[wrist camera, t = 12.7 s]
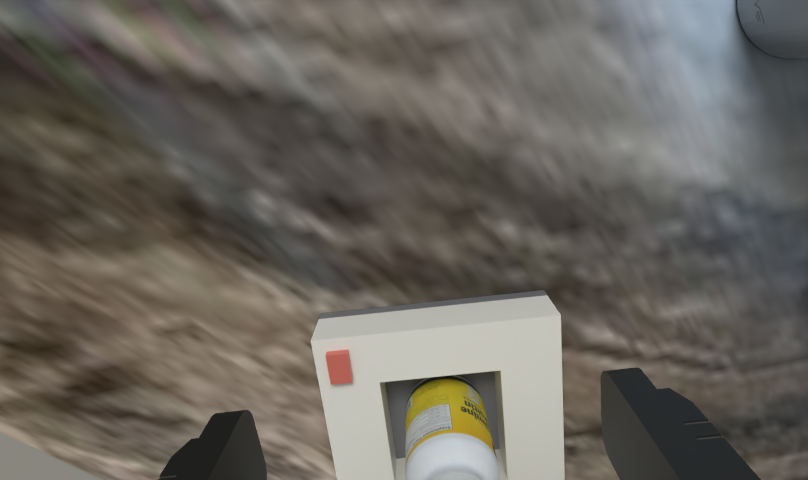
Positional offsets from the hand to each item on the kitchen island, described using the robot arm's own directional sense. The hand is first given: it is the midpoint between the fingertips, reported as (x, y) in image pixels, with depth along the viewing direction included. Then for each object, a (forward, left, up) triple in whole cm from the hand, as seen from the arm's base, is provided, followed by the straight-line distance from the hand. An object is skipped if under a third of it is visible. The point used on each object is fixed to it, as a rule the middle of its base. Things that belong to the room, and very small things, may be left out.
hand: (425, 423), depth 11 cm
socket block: (-1, +18, -27) cm, 33 cm away
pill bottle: (-1, +18, -26) cm, 32 cm away
